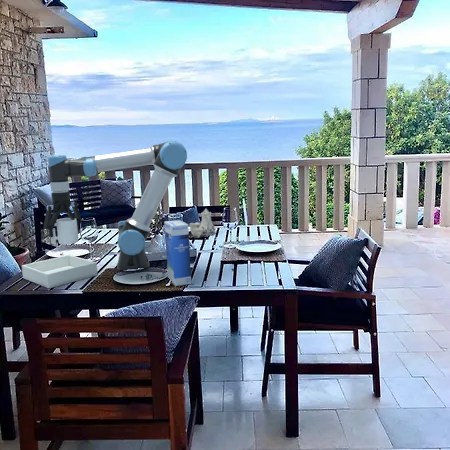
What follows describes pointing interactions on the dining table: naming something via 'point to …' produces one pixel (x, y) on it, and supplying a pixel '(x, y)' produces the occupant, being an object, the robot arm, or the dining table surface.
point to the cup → (66, 231)
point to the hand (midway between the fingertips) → (65, 241)
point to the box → (59, 271)
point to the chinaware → (203, 225)
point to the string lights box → (178, 252)
